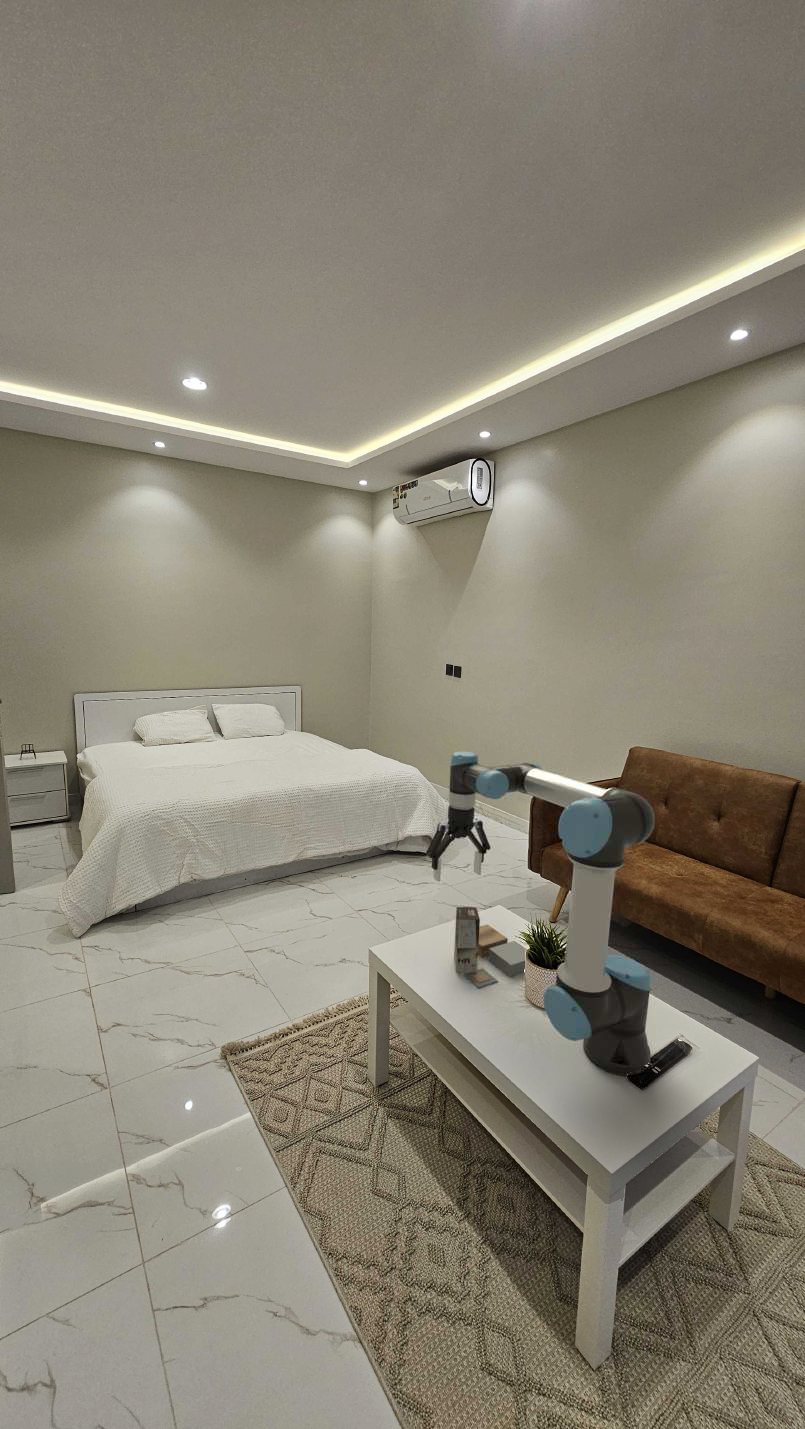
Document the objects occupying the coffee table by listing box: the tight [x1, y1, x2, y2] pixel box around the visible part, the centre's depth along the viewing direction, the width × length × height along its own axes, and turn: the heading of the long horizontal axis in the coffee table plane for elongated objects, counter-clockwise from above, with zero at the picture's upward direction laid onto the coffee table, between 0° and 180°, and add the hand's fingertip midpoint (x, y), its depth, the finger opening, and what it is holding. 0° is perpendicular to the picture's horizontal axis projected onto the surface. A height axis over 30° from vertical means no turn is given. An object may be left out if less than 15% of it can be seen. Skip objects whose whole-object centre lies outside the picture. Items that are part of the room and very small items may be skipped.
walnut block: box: [478, 924, 509, 959], centre depth 190 cm, size 10×10×4 cm
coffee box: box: [453, 906, 481, 973], centre depth 178 cm, size 9×6×16 cm
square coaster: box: [463, 968, 499, 989], centre depth 173 cm, size 7×7×1 cm
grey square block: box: [487, 940, 527, 979], centre depth 180 cm, size 10×10×4 cm
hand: (457, 876), depth 175 cm, fingers open, 13 cm apart
